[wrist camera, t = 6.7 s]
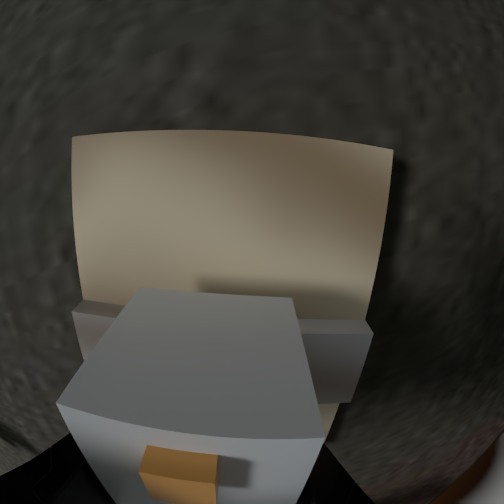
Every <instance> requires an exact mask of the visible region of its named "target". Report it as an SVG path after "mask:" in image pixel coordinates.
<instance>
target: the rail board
mask: <svg viewBox="0 0 504 504" xmlns="http://www.w3.org/2000/svg"><path fill="white" fill-rule="evenodd" d="M392 160H393V150H391V149H386V148H381V147H375V146H370V145H364V144H358V143H351V142H345V141H338V140H331V139H323V138H315V137H307V136H297V135H287V134H276V133H263V132H247V131H224V130H155V131H133V132H117V133H105V134H94V135H84V136H76V137H72V204H73V220H74V233H75V243H76V253H77V261H78V269H79V276H80V282H81V289H82V294H83V300H82V301H81V302H80V303H79V304H78V305H77V306H76V307H75V308H74V309H73V310H72V315H73V320H74V324H75V328H76V332H77V336H78V340H79V344H80V348H81V352H82V355H83V359H84V361H85V360H86V358H87V357H88V355H89V354H90V353H91V351H92V350H93V348H94V347H95V346H96V344H97V343H98V342H99V340H100V339H101V337H102V336H103V335H104V333H105V332H106V331H107V329H108V328H109V327H110V325H111V324H112V323H113V321H114V320H115V319H116V317H117V316H118V315H119V314H120V312H121V311H122V310H123V308H124V307H125V306H126V304H127V303H128V302H129V301H130V299H131V298H132V297H133V295H134V294H135V293H136V292H137V290H138V289H139V288H140V287H144V288H155V289H166V290H178V291H190V292H203V293H217V294H232V295H248V296H266V297H287V298H292V300H293V304H294V308H295V312H296V316H297V320H298V324H299V328H300V332H301V336H302V340H303V344H304V348H305V352H306V356H307V361H308V365H309V369H310V373H311V377H312V382H313V386H314V390H315V394H316V399H317V403H318V407H319V412H320V416H321V421H322V425H323V430H324V434H325V439H324V442H323V443H325V440H326V438H327V435H328V433H329V430H330V427H331V425H332V422H333V420H334V417H335V414H336V412H337V409H338V406H339V403H348V402H351V400H352V397H353V394H354V392H355V389H356V386H357V383H358V380H359V378H360V375H361V372H362V369H363V366H364V363H365V360H366V357H367V353H368V350H369V347H370V344H371V340H372V337H373V334H374V333H373V332H372V330H371V329H370V327H369V325H368V324H367V322H366V320H365V318H366V314H367V310H368V305H369V301H370V297H371V293H372V288H373V284H374V279H375V274H376V269H377V264H378V259H379V254H380V249H381V243H382V237H383V231H384V225H385V219H386V212H387V205H388V197H389V189H390V180H391V171H392Z"/></svg>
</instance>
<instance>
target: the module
mask: <svg viewBox="0 0 504 504" xmlns="http://www.w3.org/2000/svg"><path fill="white" fill-rule="evenodd" d="M56 404H57V406H58V409H59V411H60V413H61V415H62V417H63V419H64V421H65V423H66V425H67V427H68V428H69V430H70V432H71V434H72V436H73V438H74V440H75V441H76V443H77V445H78V447H79V448H80V450H81V452H82V453H83V455H84V457H85V458H86V460H87V462H88V463H89V465H90V466H91V468H92V470H93V471H94V473H95V474H96V476H97V477H98V479H99V480H100V482H101V483H102V485H103V486H104V487H105V489H106V490H107V492H108V493H109V494H110V496H111V497H112V499H113V500H114V501H115V503H116V504H296V502H297V500H298V498H299V496H300V494H301V492H302V490H303V488H304V486H305V484H306V481H307V479H308V477H309V475H310V473H311V470H312V468H313V466H314V464H315V461H316V459H317V457H318V454H319V452H320V449H321V447H322V444H323V442H324V439H325V434H324V430H323V425H322V421H321V416H320V412H319V407H318V403H317V399H316V394H315V390H314V386H313V382H312V377H311V373H310V369H309V365H308V361H307V356H306V352H305V348H304V344H303V340H302V336H301V332H300V328H299V324H298V320H297V316H296V312H295V308H294V304H293V300H292V298H287V297H266V296H248V295H232V294H217V293H203V292H190V291H178V290H166V289H155V288H144V287H140V288H139V289H138V290H137V292H136V293H135V294H134V295H133V297H132V298H131V299H130V301H129V302H128V303H127V304H126V306H125V307H124V308H123V310H122V311H121V312H120V314H119V315H118V316H117V317H116V319H115V320H114V321H113V323H112V324H111V325H110V327H109V328H108V329H107V331H106V332H105V333H104V335H103V336H102V337H101V339H100V340H99V342H98V343H97V344H96V346H95V347H94V348H93V350H92V351H91V353H90V354H89V355H88V357H87V358H86V360H85V361H84V362H83V364H82V365H81V367H80V368H79V369H78V371H77V372H76V374H75V375H74V377H73V378H72V380H71V381H70V382H69V384H68V385H67V387H66V388H65V390H64V391H63V393H62V394H61V396H60V397H59V399H58V400H57V402H56Z"/></svg>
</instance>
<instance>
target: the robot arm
mask: <svg viewBox="0 0 504 504" xmlns="http://www.w3.org/2000/svg"><path fill="white" fill-rule="evenodd" d="M0 504H116V503H115V501H114V500H113V499H112V497H111V496H110V494H109V493H108V492H107V490H106V489H105V487H104V486H103V485H102V483H101V482H100V480H99V479H98V477H97V476H96V474H95V473H94V471H93V470H92V468H91V466H90V465H89V463H88V462H87V460H86V458H85V457H84V455H83V453H82V452H81V450H80V448H79V447H78V445H77V443H76V441H75V440H74V438H73V436H72V434H71V432H70V433H69V434H68V435H66V436H65V437H64V438H62V439H61V440H59V441H58V442H57V443H55V444H54V445H52V446H51V447H50V448H48V449H47V450H45V451H44V452H42V453H41V454H39V455H38V456H36V457H35V458H33V459H32V460H30V461H28V462H26V463H25V464H23V465H21V466H19V467H17V468H15V469H13V470H11V471H9V472H7V473H5V474H3V475H1V476H0ZM296 504H375V503H374V502H373V501H372V500H371V499H370V498H369V497H368V496H367V495H366V494H365V493H364V492H363V491H362V489H361V488H360V487H359V486H358V485H357V484H356V483H355V481H354V480H353V479H352V477H351V476H350V475H349V474H348V473H347V471H346V470H345V469H344V468H343V466H342V465H341V464H340V463H339V462H338V460H337V459H336V458H335V457H334V455H333V454H332V453H331V452H330V450H329V449H328V448H327V446H326V445H325V444H324V443H323V444H322V447H321V449H320V452H319V454H318V457H317V459H316V461H315V464H314V466H313V468H312V470H311V473H310V475H309V477H308V479H307V481H306V484H305V486H304V488H303V490H302V492H301V494H300V496H299V498H298V500H297V502H296Z"/></svg>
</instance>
